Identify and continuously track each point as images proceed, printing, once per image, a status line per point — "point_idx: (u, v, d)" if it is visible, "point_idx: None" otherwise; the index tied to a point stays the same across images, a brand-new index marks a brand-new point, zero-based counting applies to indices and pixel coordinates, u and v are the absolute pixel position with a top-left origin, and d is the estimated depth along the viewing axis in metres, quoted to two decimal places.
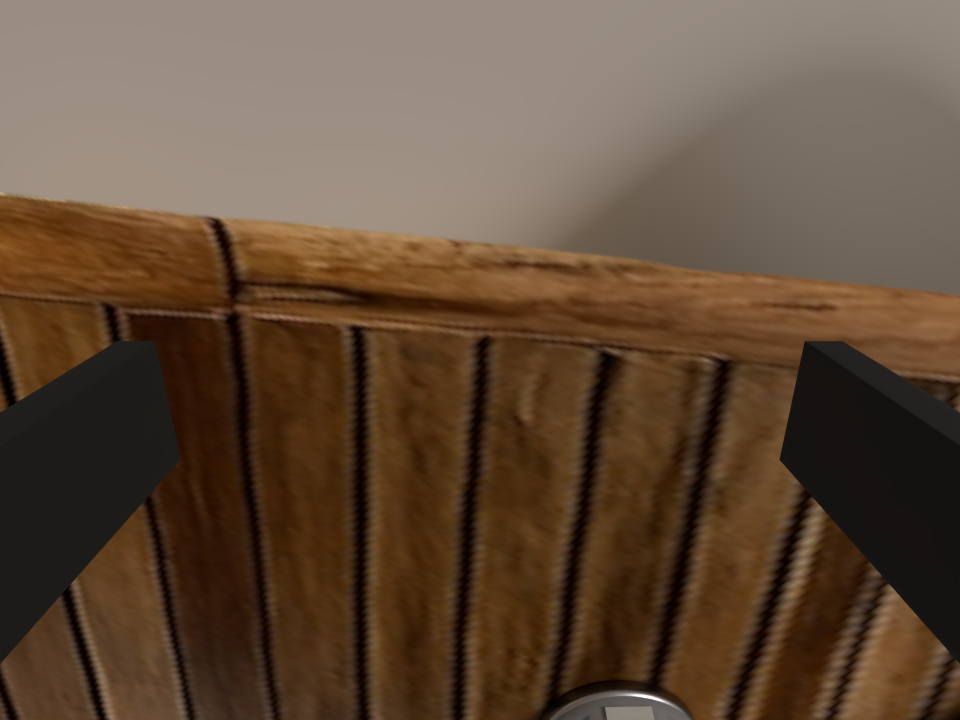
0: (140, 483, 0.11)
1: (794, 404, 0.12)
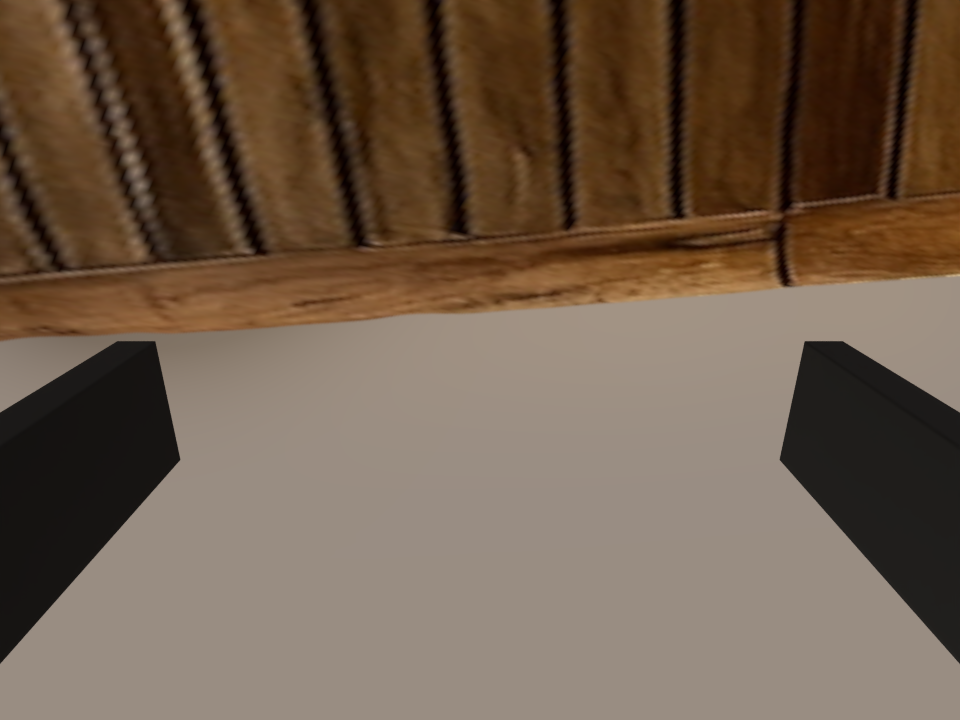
0: (140, 483, 0.11)
1: (794, 403, 0.12)
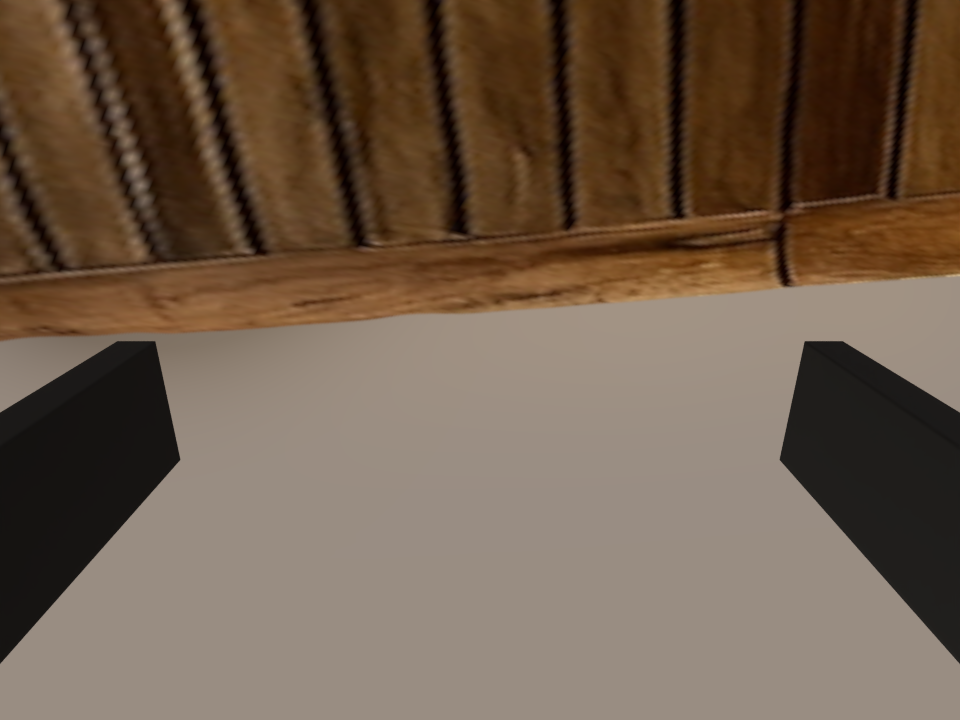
0: (140, 483, 0.11)
1: (794, 403, 0.12)
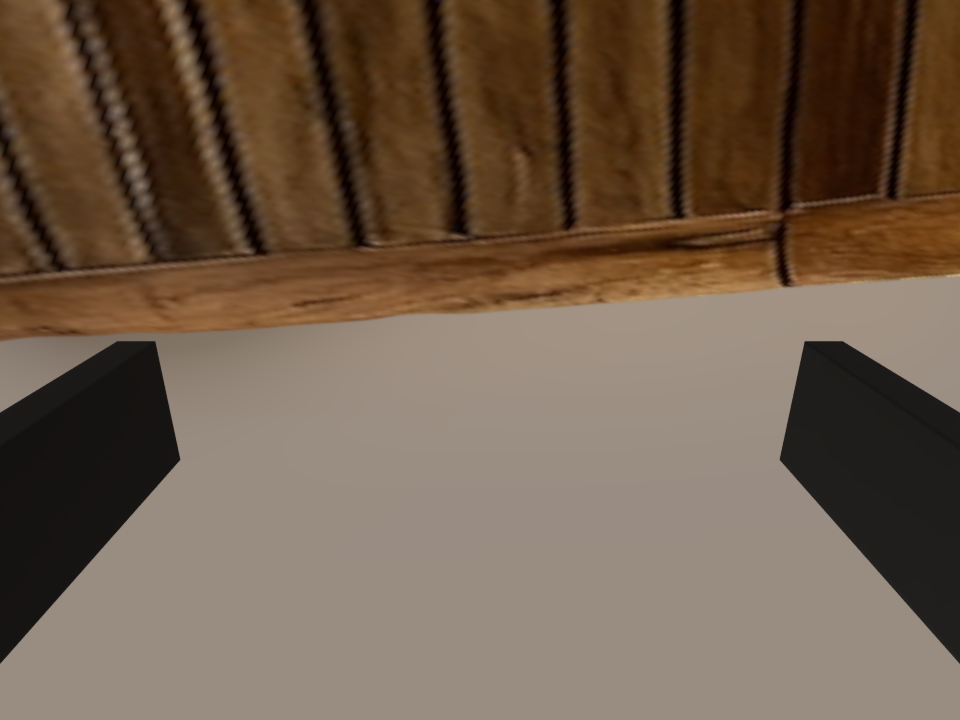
0: (140, 483, 0.11)
1: (794, 403, 0.12)
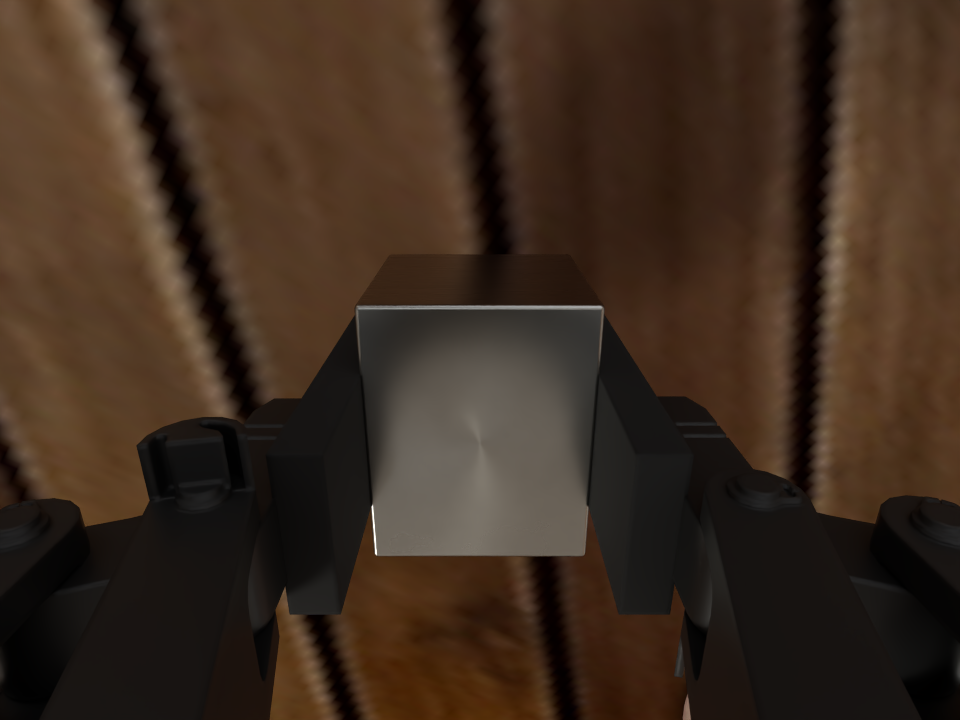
0: None
1: None
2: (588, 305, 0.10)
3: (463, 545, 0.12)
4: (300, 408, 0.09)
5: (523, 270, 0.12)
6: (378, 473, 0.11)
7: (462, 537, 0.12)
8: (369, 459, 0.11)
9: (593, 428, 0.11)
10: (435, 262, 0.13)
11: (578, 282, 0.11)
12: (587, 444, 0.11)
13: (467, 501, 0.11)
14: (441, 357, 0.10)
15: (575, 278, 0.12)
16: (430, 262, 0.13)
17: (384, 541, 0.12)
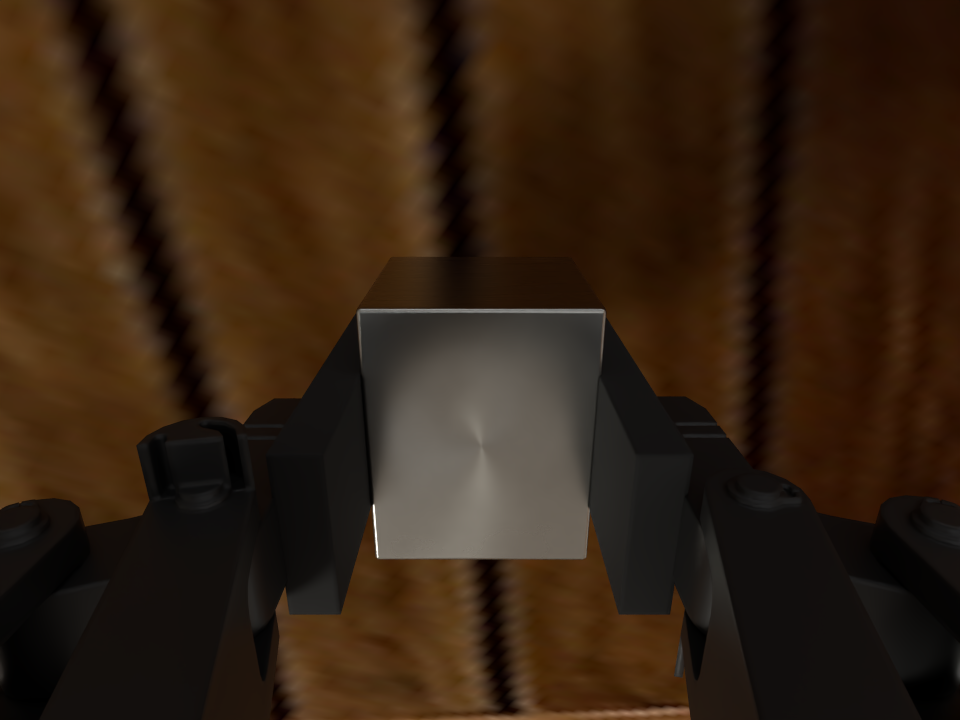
0: None
1: None
2: (590, 308, 0.10)
3: (464, 549, 0.12)
4: (299, 408, 0.09)
5: (524, 273, 0.12)
6: (380, 476, 0.11)
7: (463, 540, 0.12)
8: (371, 462, 0.11)
9: None
10: (436, 265, 0.13)
11: (580, 285, 0.11)
12: (589, 447, 0.11)
13: (468, 503, 0.11)
14: (442, 361, 0.10)
15: (577, 281, 0.12)
16: (431, 265, 0.13)
17: (385, 544, 0.12)
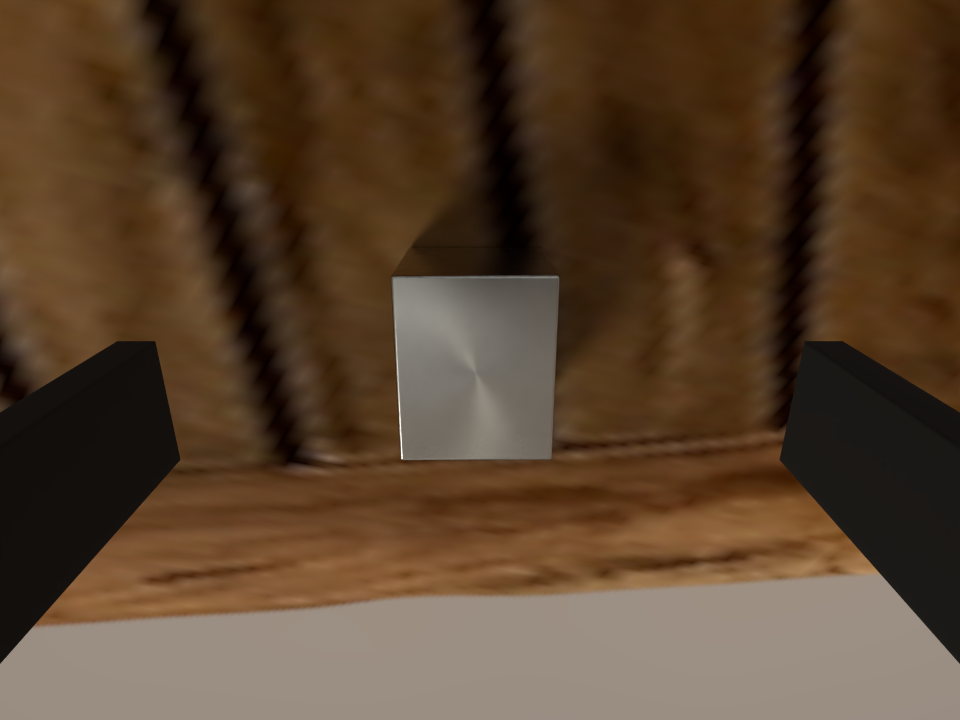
0: (140, 483, 0.11)
1: (794, 404, 0.12)
2: (548, 275, 0.15)
3: (464, 451, 0.16)
4: None
5: (507, 256, 0.17)
6: (404, 396, 0.16)
7: (463, 445, 0.16)
8: (398, 386, 0.16)
9: (554, 362, 0.15)
10: (443, 252, 0.18)
11: (544, 263, 0.16)
12: (550, 374, 0.16)
13: (467, 417, 0.16)
14: (448, 312, 0.15)
15: (543, 261, 0.16)
16: (439, 252, 0.18)
17: (408, 448, 0.16)
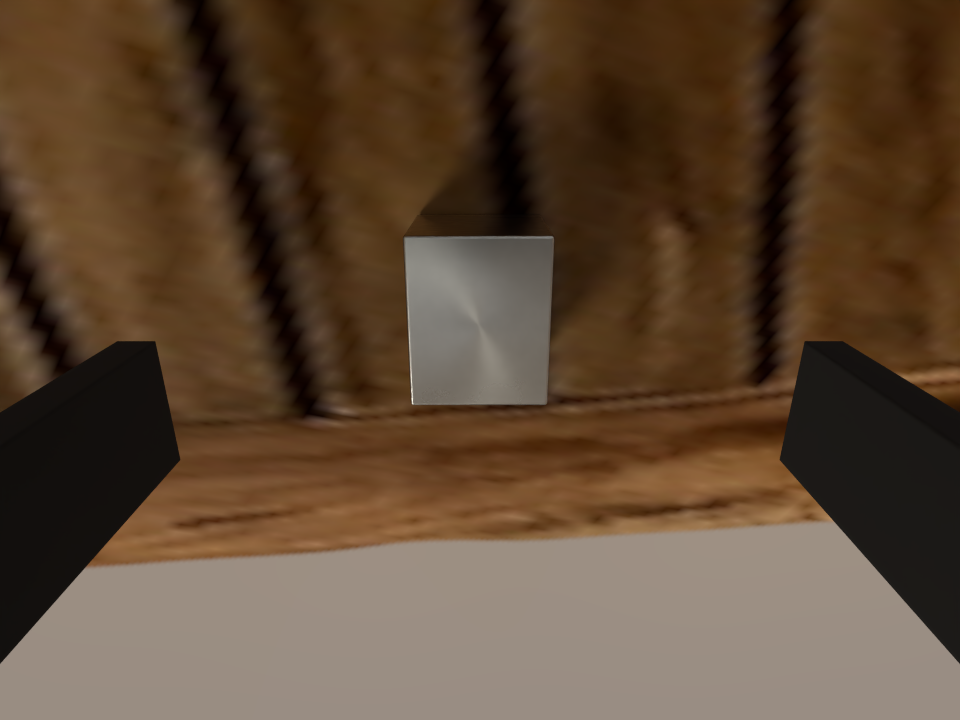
0: (140, 483, 0.11)
1: (793, 404, 0.12)
2: (544, 236, 0.16)
3: (469, 397, 0.18)
4: None
5: (507, 221, 0.19)
6: (415, 346, 0.18)
7: (468, 391, 0.18)
8: (409, 337, 0.17)
9: (549, 315, 0.17)
10: (449, 218, 0.19)
11: (541, 226, 0.18)
12: (546, 326, 0.17)
13: (471, 365, 0.18)
14: (455, 269, 0.17)
15: (540, 225, 0.18)
16: (446, 218, 0.19)
17: (418, 394, 0.18)
